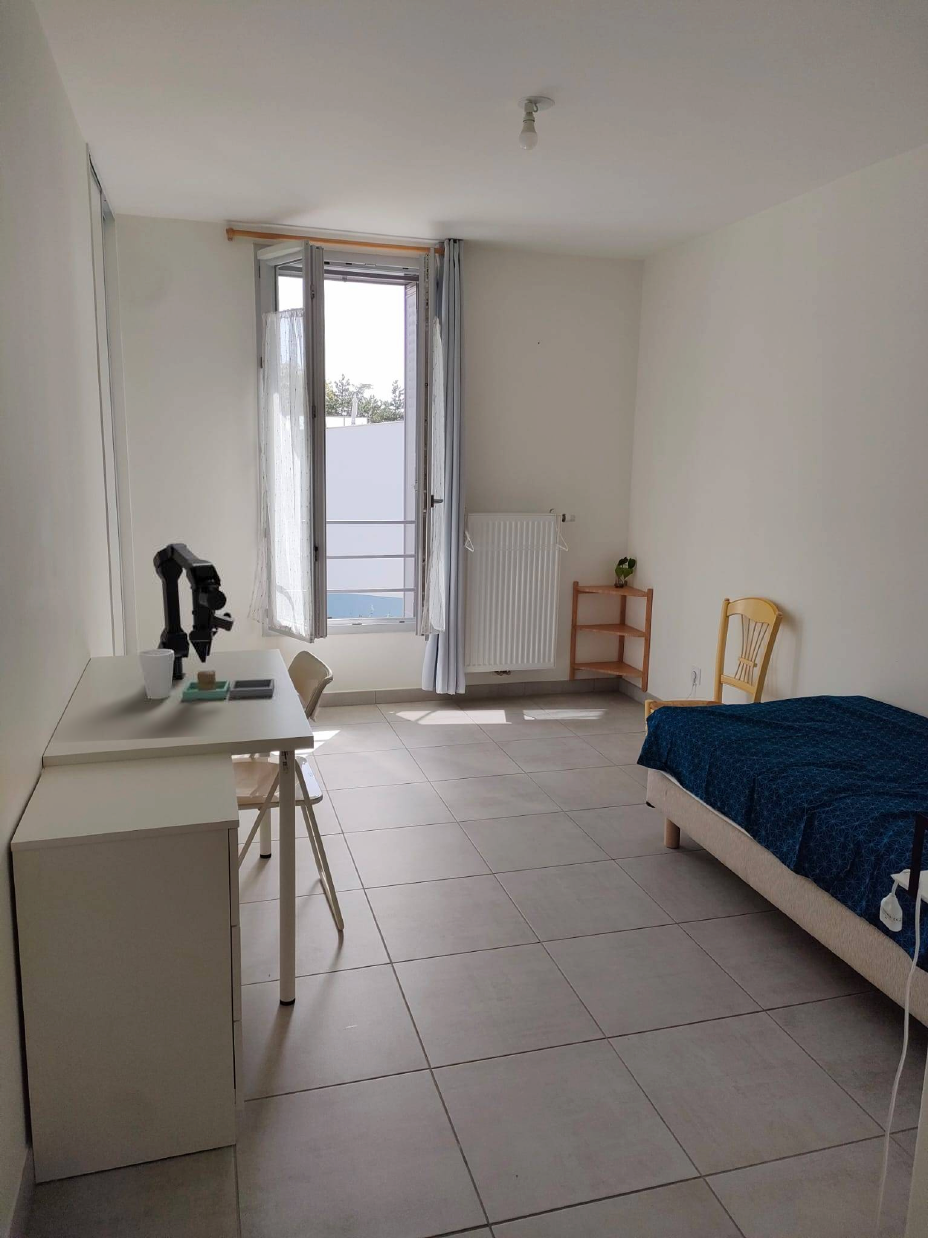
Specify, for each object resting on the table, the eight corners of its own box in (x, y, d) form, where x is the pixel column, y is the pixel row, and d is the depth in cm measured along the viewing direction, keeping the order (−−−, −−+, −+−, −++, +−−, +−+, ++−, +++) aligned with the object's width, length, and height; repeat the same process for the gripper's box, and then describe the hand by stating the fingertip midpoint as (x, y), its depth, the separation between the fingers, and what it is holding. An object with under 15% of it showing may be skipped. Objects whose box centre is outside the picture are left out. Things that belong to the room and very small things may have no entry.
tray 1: (188, 690, 262) (188, 681, 262) (230, 688, 264) (229, 680, 263) (182, 700, 250) (182, 692, 250) (226, 698, 252) (225, 690, 252)
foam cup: (181, 692, 259) (179, 649, 257) (168, 700, 250) (165, 656, 248) (150, 691, 260) (148, 648, 258) (136, 699, 251) (133, 655, 249)
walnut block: (200, 690, 259) (199, 670, 258) (216, 690, 260) (215, 670, 259) (198, 694, 254) (197, 674, 253) (214, 693, 255) (213, 673, 254)
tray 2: (233, 688, 264) (233, 680, 264) (274, 686, 266) (274, 678, 265) (229, 698, 252) (229, 690, 252) (272, 696, 254) (272, 688, 254)
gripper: (228, 610, 245) (231, 665, 247) (234, 600, 263) (237, 651, 265) (187, 611, 243) (190, 666, 246) (196, 601, 261) (199, 653, 264)
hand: (205, 659), depth 255 cm, fingers open, 9 cm apart
